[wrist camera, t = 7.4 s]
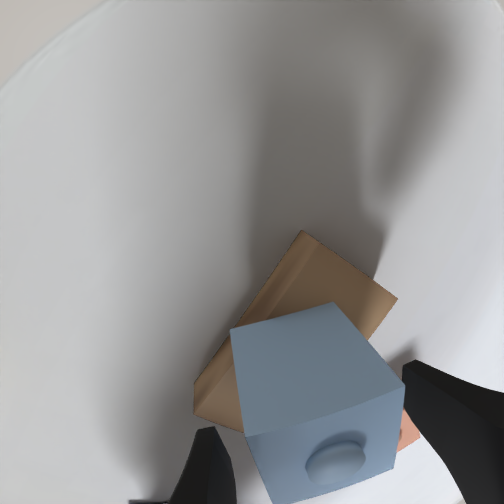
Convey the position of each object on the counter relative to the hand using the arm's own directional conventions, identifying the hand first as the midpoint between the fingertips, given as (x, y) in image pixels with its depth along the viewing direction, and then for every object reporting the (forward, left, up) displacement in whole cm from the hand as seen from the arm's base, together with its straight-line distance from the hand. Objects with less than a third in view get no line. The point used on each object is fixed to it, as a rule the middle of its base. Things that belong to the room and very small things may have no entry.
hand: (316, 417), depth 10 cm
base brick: (0, 0, -7) cm, 7 cm away
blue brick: (0, 0, -4) cm, 4 cm away
